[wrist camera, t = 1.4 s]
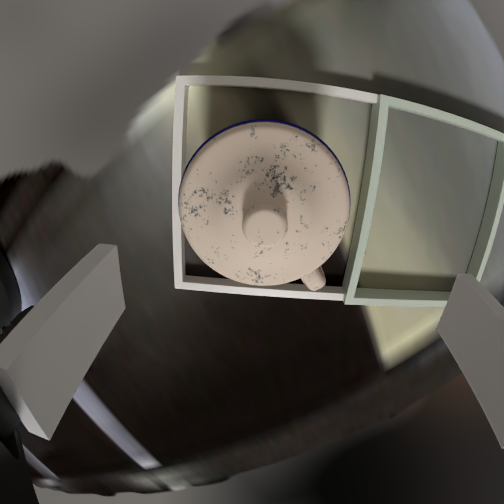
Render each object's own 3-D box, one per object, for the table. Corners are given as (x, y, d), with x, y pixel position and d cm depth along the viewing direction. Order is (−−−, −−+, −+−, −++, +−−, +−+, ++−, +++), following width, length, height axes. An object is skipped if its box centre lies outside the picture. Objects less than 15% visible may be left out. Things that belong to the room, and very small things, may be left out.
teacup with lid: (182, 158, 24) (122, 197, 13) (284, 96, 21) (304, 79, 11) (262, 276, 28) (262, 375, 17) (356, 226, 26) (411, 304, 15)
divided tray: (178, 281, 28) (173, 291, 27) (180, 77, 21) (173, 74, 19) (461, 297, 28) (469, 306, 27) (503, 135, 21) (515, 138, 19)
